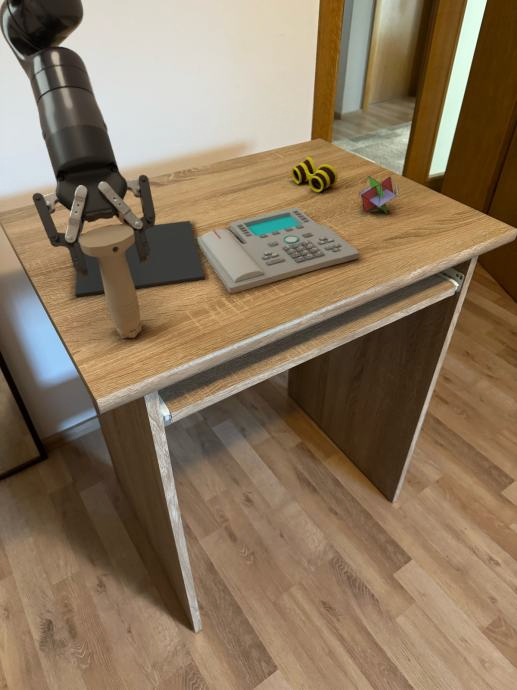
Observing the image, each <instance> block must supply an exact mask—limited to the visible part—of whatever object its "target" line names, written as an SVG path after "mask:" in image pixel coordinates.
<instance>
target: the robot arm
mask: <svg viewBox="0 0 517 690" xmlns="http://www.w3.org/2000/svg"><path fill="white" fill-rule="evenodd" d="M84 12H85V11H84V6H83V2H82V0H3V2H2V3H1V5H0V31H1V35H2V37H3V39H4V40H5V42H6V44H7V45H8V46H9V48H10V50H11V51H12V53H13V55H14V56H15V58H16V60H17V62H18V64H19V65H20V66H21V69H23V72H24V73H25V75H26V77H27V78H28V80H29V83H30V87H31V90H32V94H33V97H34V100H35V101H34V102H35V104H36V107H37V112H38V118H39V125H40V129H41V136H42V139H43V141H44V144H45V148H46V150H47V153H48V158H49V162H50V164H51V167H52V171H53V175H54V177H55V182H56V188H55V191H54V192H50V193H46V194H42V193H40V192H36V193H33V195H32V198H31V199H32V201H33V204H34V206H35V209H36V211H37V213H38V216H39V218H40V221H41V223H42V224H41V225H42V226H43V228H44V232H45V234H46V236H47V239H48V240H49V242H50V245H51V246H52V247H54V248H58V247H64V248H66V249H68V252H69V255H70V258H71V262H72V265H73V269H74V271H75V272H76V274H77V273H82V274H83V277H86V276H89V274H88V270H87V267H86V263H85V260H84V256H83V253H82V249H81V247H80V243H79V237H80V236H81V234H82V232H83V229H84V225H85V222H87V223H93V222H96V221H98V220H109V219H114V217H115V218H117V220H118V221H119V222H120V224H125V225H128V226H130V227H131V228H132V229H133V231H134V236H135V242H134V243H135V247H136V250H137V253H138V257H139V260H140V263H141V264H144V263H147V258H149V255H150V248H149V245H148V242H147V238H146V235H145V231H146V230H147V229H148V228H152V227H153V226H154V225H156V224H155V223H156V216H157V215H156V210H155V205H154V199H153V196H152V191H151V185H150V180H149V176H147V175H146V174H140V175H139V177H138V178H134V179H126V178H125V177H124V176H123V175H122V174H121V171H120V169H119V166H118V163H117V160H116V156H115V152H114V149H113V146H112V142H111V139H110V136H109V132H108V131H109V130H108V126H107V123H106V122H105V119H104V116H103V113H102V111H101V109H100V106H99V104H98V100H97V98H96V96H95V92H94V89H93V84H92V82H91V78H90V75H89V71H88V69H87V66H86V64H85V62H84V59H83V58H82V56H80V55H79V54H78V53H77V52H76V51H75V50H73V49H71V48H69V47H65V46H61V44H62V43H64V41H65V40H67V39H68V38H69V37H70V36H71V35H72V34H73V33H74V32H75V31H76V30H77V29H78V28H79V27H80V25H81V24H82V22H83V19H84V15H85V13H84ZM128 191H130V192H131V193H132V194H133V196H134V197H135V198H137V199H139V200H140V205H141V210H142V215H143V216H142V217H140V218H139V217H138V216H137V215H136V214H135V213H134V212H133V211H132V208H131V207H130V206H129V205H128V204H127V203H126V202H125V201H124V199H125V196H126V194H127V192H128ZM58 203H59V204H60V205H61V206H63V207H64V208H65V209H67V210H68V211H69V212H70V213H69V217H68V224H67V228H66V232H58V230H57V228H56V224H55V222H54V220H53V217H52V214H55V212H56V205H57V204H58Z"/></svg>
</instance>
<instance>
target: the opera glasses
mask: <svg viewBox="0 0 517 690" xmlns="http://www.w3.org/2000/svg"><path fill="white" fill-rule="evenodd" d="M290 174H291V177H292V179H293V182H294V183H295V184H301V183H303V182H308V185H309V187H310V189H311V190H312V191H313V192H315V193H320V192H322V191H323V190H325V189H327V188H330V187H333V186H335V185H336V183H337V182H338V179H339V176H338V171H337V170H336V169H335V168H334V166H332V165H330V164H327V163H322V164H320V165H319V166H318V167H316V165H315V163H314V161H313V159H312V157H310V156H307V157H306V158H305V159H304V161H302V162H299V163H298V164H297V165H296V166H294V167H292V168H291V169H290Z"/></svg>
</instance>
